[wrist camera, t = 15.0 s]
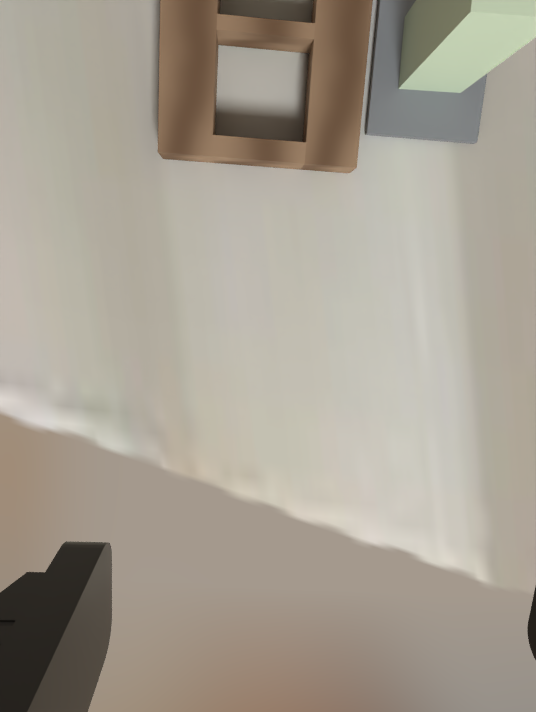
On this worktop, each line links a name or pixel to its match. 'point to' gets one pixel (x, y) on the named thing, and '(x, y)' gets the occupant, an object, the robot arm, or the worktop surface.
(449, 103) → the slate mat
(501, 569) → the worktop surface
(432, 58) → the sage block
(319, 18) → the puzzle board
